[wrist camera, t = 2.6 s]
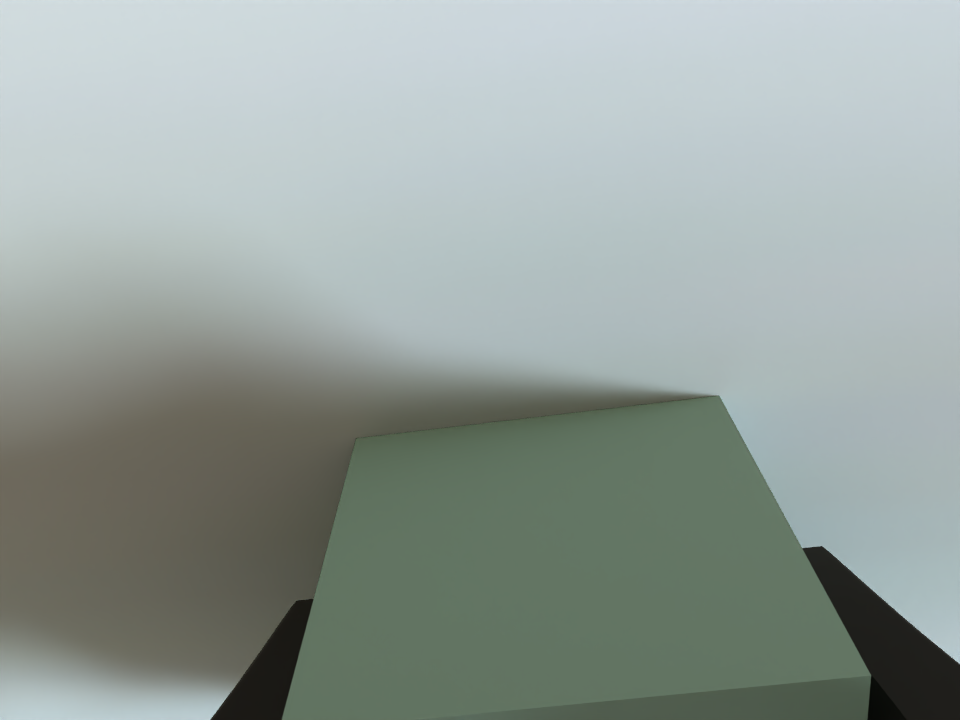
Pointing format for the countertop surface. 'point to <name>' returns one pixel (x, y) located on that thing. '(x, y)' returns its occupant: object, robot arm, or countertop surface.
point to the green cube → (571, 580)
